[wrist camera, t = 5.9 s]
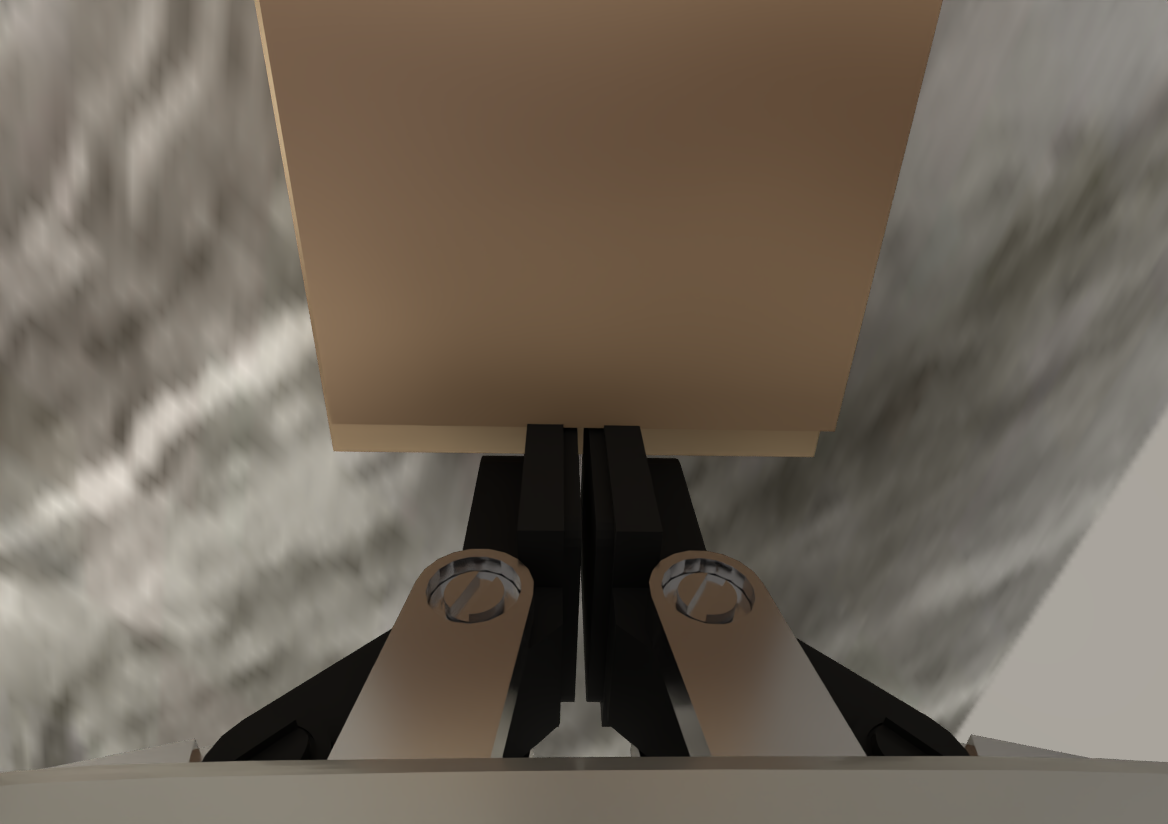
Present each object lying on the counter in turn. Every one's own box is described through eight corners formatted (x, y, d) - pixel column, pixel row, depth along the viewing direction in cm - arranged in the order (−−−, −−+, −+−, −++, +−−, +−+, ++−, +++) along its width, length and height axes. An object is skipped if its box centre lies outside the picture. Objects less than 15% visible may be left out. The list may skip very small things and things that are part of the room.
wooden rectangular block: (782, 359, 11) (834, 431, 9) (377, 352, 11) (331, 424, 9) (883, -159, 8) (1002, -239, 6) (309, -189, 8) (209, -287, 6)
